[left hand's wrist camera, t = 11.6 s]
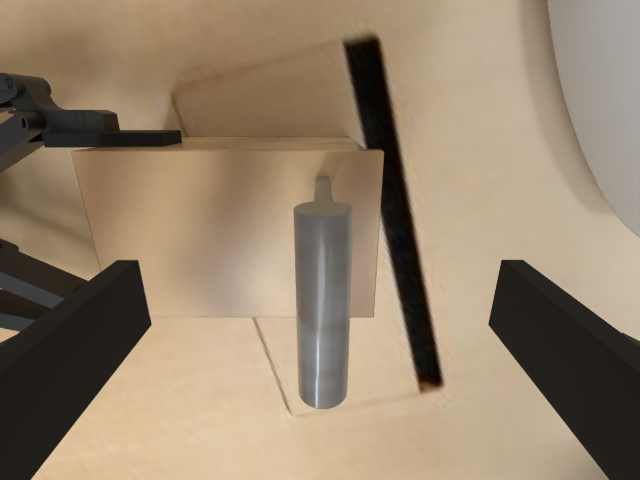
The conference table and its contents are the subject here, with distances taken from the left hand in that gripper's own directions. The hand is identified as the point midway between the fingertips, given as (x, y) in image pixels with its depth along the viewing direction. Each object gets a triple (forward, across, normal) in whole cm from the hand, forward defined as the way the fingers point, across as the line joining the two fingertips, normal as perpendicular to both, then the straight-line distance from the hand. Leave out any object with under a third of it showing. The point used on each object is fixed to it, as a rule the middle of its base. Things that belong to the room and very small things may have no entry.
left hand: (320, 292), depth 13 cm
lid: (+7, +5, 0) cm, 8 cm away
